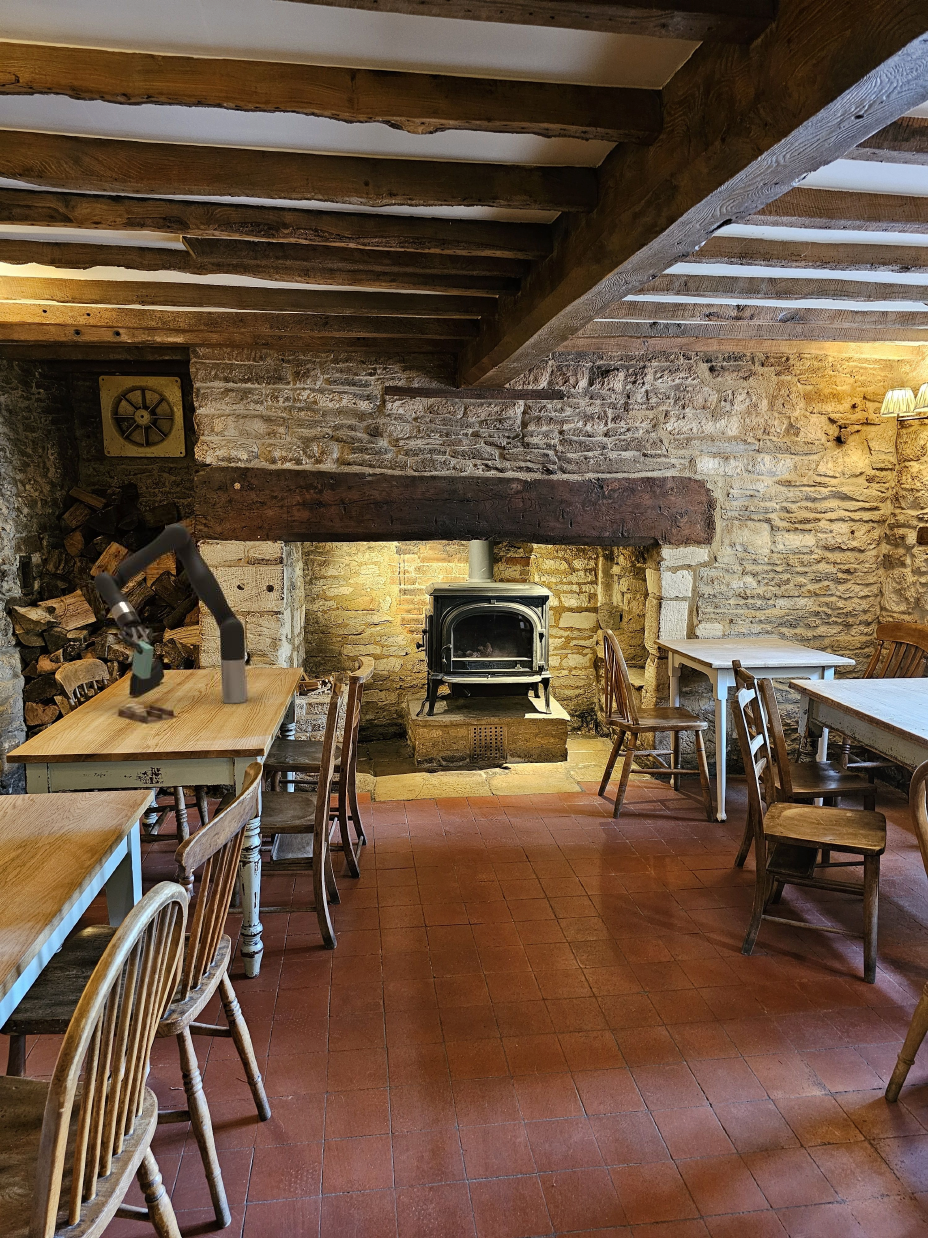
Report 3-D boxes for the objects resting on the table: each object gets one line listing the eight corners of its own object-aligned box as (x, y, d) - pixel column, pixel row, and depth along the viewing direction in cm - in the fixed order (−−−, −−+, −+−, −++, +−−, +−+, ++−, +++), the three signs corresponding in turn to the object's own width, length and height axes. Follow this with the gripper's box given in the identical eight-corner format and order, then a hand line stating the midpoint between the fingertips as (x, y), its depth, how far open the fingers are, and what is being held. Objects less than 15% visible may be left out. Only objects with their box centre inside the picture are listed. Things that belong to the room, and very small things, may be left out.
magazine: (133, 677, 325) (159, 644, 352) (125, 677, 325) (151, 644, 352) (140, 714, 332) (165, 679, 359) (132, 714, 332) (158, 679, 359)
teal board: (131, 671, 300) (135, 642, 297) (139, 670, 302) (142, 641, 299) (142, 679, 296) (146, 649, 293) (149, 677, 299) (153, 647, 295)
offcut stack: (124, 716, 294) (123, 705, 293) (134, 714, 297) (134, 703, 296) (136, 719, 289) (136, 708, 288) (147, 717, 292) (146, 706, 291)
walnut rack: (116, 719, 295) (116, 708, 295) (149, 712, 305) (148, 702, 305) (147, 728, 283) (147, 717, 283) (180, 720, 294) (180, 710, 293)
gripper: (111, 612, 294) (132, 648, 288) (146, 608, 305) (167, 644, 300) (104, 625, 298) (124, 661, 292) (139, 621, 309) (159, 656, 303)
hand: (146, 652), depth 296 cm, fingers closed on teal board, 2 cm apart
